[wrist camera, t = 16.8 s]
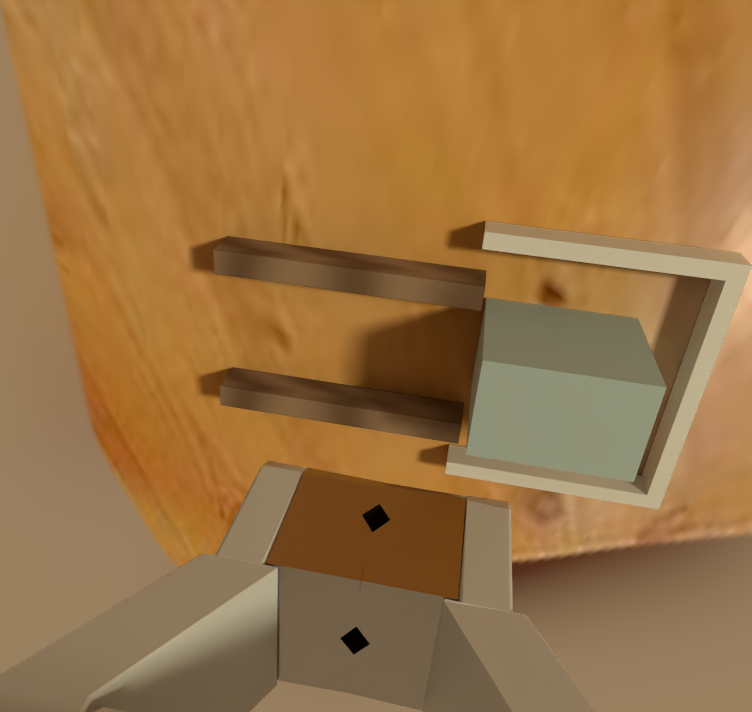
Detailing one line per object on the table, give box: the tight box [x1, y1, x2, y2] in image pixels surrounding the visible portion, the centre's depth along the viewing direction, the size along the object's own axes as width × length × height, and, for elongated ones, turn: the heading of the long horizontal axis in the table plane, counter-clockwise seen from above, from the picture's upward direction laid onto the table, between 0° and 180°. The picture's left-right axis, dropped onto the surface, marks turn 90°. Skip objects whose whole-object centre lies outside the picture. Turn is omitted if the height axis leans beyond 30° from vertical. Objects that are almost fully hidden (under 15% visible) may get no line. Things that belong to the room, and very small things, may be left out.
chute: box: [213, 236, 486, 443], centre depth 42 cm, size 16×11×2 cm
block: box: [466, 298, 667, 482], centre depth 38 cm, size 9×6×8 cm, turn 86°
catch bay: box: [445, 221, 752, 509], centre depth 40 cm, size 14×17×2 cm
